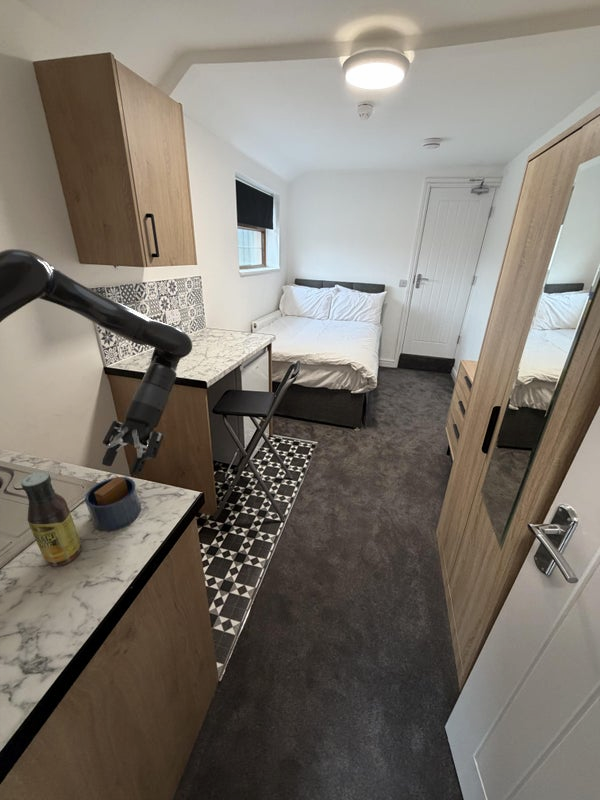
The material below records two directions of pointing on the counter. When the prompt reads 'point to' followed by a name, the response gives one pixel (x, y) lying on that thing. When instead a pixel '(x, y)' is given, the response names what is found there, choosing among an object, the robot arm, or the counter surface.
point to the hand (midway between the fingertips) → (119, 470)
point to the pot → (113, 508)
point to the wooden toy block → (112, 492)
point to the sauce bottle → (50, 520)
